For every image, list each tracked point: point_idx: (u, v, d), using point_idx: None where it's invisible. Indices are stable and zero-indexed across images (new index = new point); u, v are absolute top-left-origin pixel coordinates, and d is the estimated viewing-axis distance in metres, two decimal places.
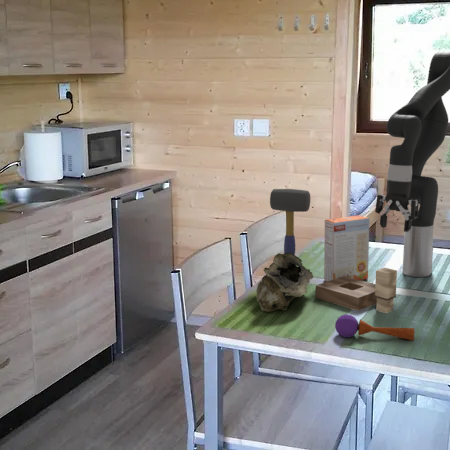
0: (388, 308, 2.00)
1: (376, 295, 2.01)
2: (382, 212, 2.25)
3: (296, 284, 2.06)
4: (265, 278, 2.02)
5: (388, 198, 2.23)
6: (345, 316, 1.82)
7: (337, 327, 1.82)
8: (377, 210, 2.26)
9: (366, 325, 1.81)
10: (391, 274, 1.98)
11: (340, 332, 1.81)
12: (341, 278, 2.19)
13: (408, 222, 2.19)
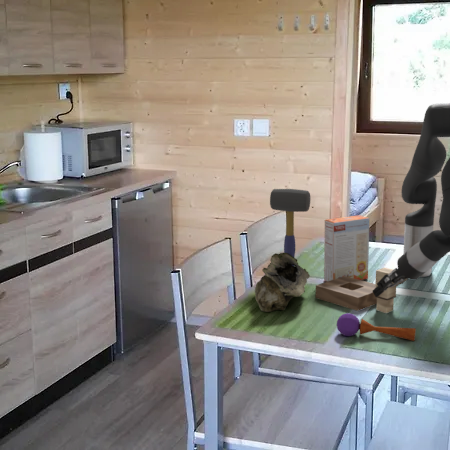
0: (388, 308, 2.00)
1: None
2: (387, 288, 1.97)
3: (294, 284, 2.06)
4: (264, 278, 2.02)
5: (400, 277, 1.93)
6: (346, 315, 1.83)
7: (338, 326, 1.83)
8: (384, 289, 1.96)
9: (367, 324, 1.82)
10: None
11: (341, 331, 1.82)
12: (341, 278, 2.19)
13: None
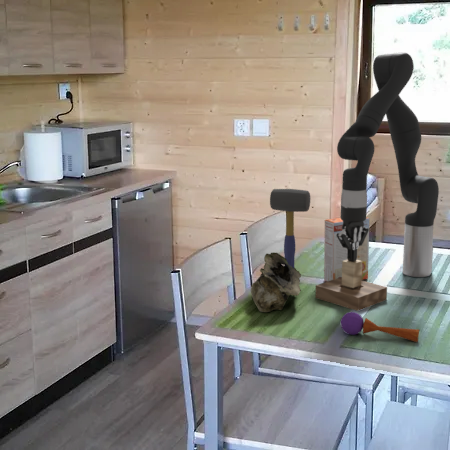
0: None
1: (343, 284, 2.11)
2: (354, 246, 2.07)
3: (290, 283, 2.07)
4: (262, 279, 2.01)
5: (350, 226, 2.04)
6: (350, 313, 1.84)
7: (341, 324, 1.84)
8: (350, 245, 2.06)
9: (371, 324, 1.82)
10: (356, 264, 2.08)
11: (344, 329, 1.84)
12: (341, 278, 2.19)
13: None
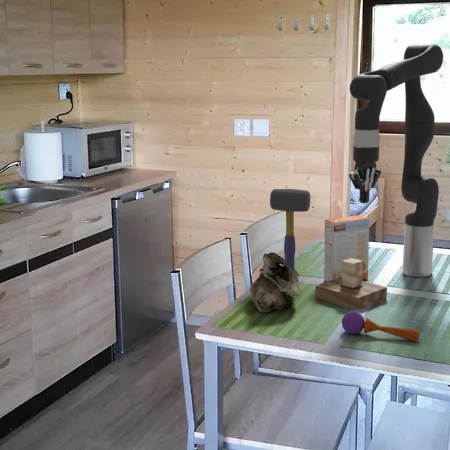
0: None
1: (343, 284, 2.11)
2: (367, 187, 2.07)
3: (289, 283, 2.07)
4: (261, 279, 2.01)
5: (362, 167, 2.04)
6: (351, 313, 1.84)
7: (342, 323, 1.84)
8: (362, 186, 2.05)
9: (371, 323, 1.82)
10: (356, 264, 2.08)
11: (345, 328, 1.84)
12: (341, 278, 2.19)
13: (368, 192, 2.09)
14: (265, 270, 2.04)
